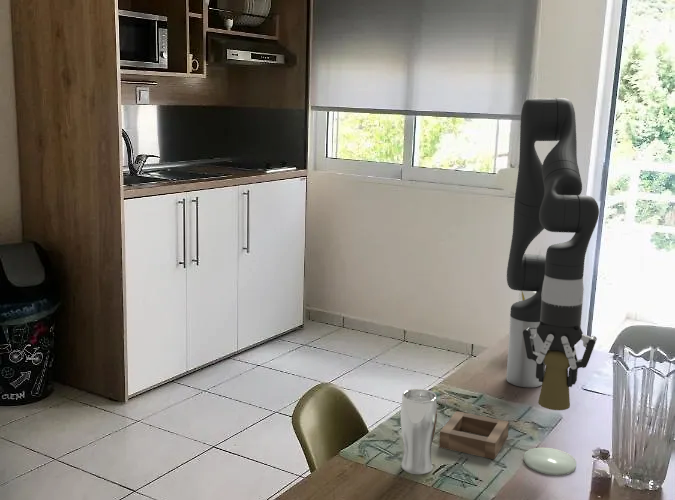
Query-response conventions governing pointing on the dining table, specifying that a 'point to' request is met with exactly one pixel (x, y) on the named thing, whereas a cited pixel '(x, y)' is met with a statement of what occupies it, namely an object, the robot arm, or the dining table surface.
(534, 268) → the robot arm
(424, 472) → the beer glass
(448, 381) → the dining table surface
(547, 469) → the coaster
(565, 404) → the olive pawn
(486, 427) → the frame
